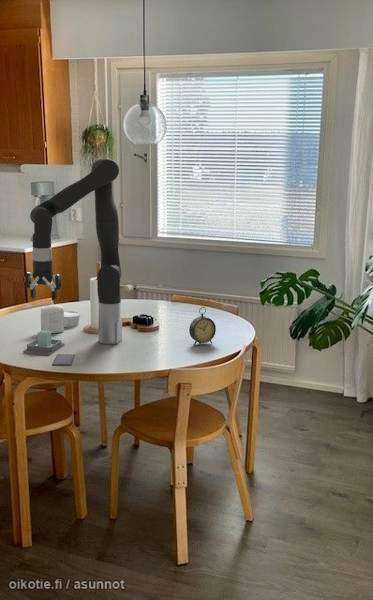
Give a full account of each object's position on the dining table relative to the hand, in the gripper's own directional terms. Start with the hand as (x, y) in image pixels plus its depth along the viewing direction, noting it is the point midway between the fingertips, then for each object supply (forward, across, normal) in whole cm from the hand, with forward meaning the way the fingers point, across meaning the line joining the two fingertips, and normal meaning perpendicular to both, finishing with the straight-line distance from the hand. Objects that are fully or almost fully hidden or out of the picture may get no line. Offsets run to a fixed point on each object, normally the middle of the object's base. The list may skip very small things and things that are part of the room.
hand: (43, 299), depth 233 cm
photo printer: (+21, +7, -21) cm, 30 cm away
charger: (+19, 0, +1) cm, 19 cm away
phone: (+21, -13, +11) cm, 27 cm away
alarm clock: (+21, -59, -25) cm, 68 cm away
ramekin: (+21, +6, -35) cm, 41 cm away
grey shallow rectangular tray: (+20, 0, +1) cm, 20 cm away
